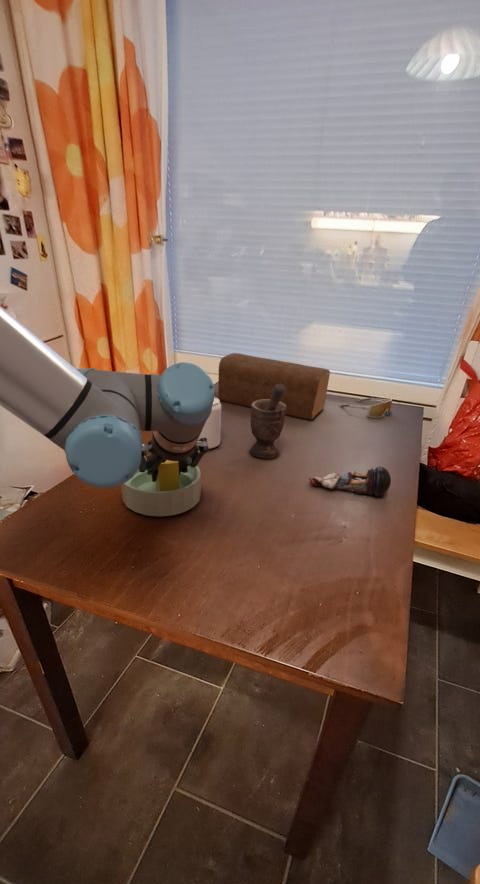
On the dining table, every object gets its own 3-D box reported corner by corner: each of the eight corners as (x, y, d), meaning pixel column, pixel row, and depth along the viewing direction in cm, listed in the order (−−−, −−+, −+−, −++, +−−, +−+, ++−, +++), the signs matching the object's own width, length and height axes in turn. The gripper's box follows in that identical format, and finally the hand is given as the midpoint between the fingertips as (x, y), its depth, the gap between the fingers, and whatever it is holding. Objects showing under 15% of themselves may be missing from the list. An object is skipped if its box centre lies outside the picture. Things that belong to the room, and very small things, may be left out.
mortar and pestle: (294, 461, 108) (305, 382, 96) (267, 468, 103) (275, 387, 92) (267, 444, 115) (275, 369, 103) (241, 450, 111) (246, 373, 99)
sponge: (160, 503, 87) (158, 464, 81) (156, 489, 91) (153, 451, 86) (179, 501, 88) (178, 462, 82) (174, 487, 92) (173, 449, 87)
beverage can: (204, 453, 108) (204, 407, 101) (183, 443, 113) (182, 399, 106) (226, 444, 113) (228, 401, 106) (205, 435, 118) (206, 392, 111)
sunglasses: (374, 421, 135) (376, 405, 132) (336, 413, 144) (337, 398, 142) (398, 412, 143) (400, 397, 140) (360, 406, 153) (361, 391, 150)
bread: (312, 422, 131) (320, 375, 123) (216, 400, 142) (217, 356, 134) (324, 409, 142) (332, 365, 133) (234, 390, 152) (236, 348, 144)
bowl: (112, 514, 83) (108, 488, 80) (135, 476, 96) (133, 452, 93) (193, 522, 83) (193, 496, 79) (205, 482, 96) (205, 458, 93)
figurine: (393, 471, 89) (308, 464, 94) (389, 501, 91) (306, 493, 96) (392, 464, 96) (313, 459, 101) (388, 493, 98) (311, 486, 103)
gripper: (125, 458, 65) (126, 495, 88) (230, 450, 70) (205, 487, 93) (119, 413, 66) (121, 461, 89) (222, 408, 71) (200, 455, 93)
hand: (164, 474), depth 91 cm, fingers closed on sponge, 4 cm apart
